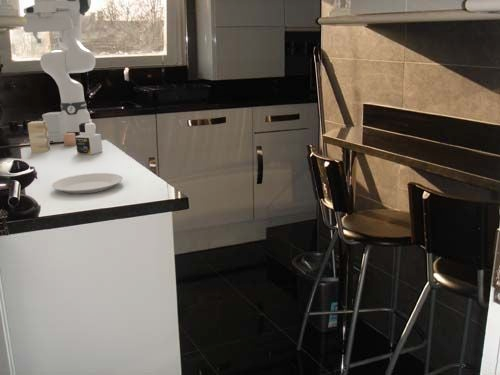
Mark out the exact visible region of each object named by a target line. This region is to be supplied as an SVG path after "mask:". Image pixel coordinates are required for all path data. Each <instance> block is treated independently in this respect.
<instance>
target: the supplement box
mask: <svg viewBox="0 0 500 375" xmlns="http://www.w3.org/2000/svg"><path fill="white" fill-rule="evenodd" d="M41 117H42V121H46V122H47V129H48V136H49V143H51V142H50V141H53V142H52V143H62V142H64V139H63V134H66V133H68V132H66V125H65V117H64V112H62V111H51V112H47V113H43V114H41Z"/></svg>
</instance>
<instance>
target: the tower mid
mask: <svg viewBox="0 0 500 375" xmlns="http://www.w3.org/2000/svg"><path fill="white" fill-rule="evenodd" d="M28 137H29V138H28V139H29V144H30V143H43V142H46V141H48V140H49V136H48V130H47V131H46V132H44V133H29V132H28Z"/></svg>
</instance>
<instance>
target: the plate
mask: <svg viewBox="0 0 500 375" xmlns="http://www.w3.org/2000/svg"><path fill="white" fill-rule="evenodd" d="M123 179H124V177H123V176H122V175H120V174H117V173H109V172H108V173H107V172H105V173H104V172H99V173H98V172H97V173H95V172H94V173H85V174H78V175H73V176H68V177H64V178H60V179H58V180H56V181H54V182H53V183H52V184H51V187H52V188H53V189H54V190H57V191H62V192H65V193H67V194H75V195H83V194H94V193H98V192H102V191H105V190H108V189H111V188H112V187H113V186H115V185H117V184H119V183H121V182H122V181H123Z"/></svg>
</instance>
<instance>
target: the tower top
mask: <svg viewBox="0 0 500 375" xmlns="http://www.w3.org/2000/svg"><path fill="white" fill-rule="evenodd" d="M47 130H48V129H47V122H46V121H43V120H35V121H32V120H31V121H29V122H28V123H27V132H28V134H29V133H44V132H46V131H47Z"/></svg>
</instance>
